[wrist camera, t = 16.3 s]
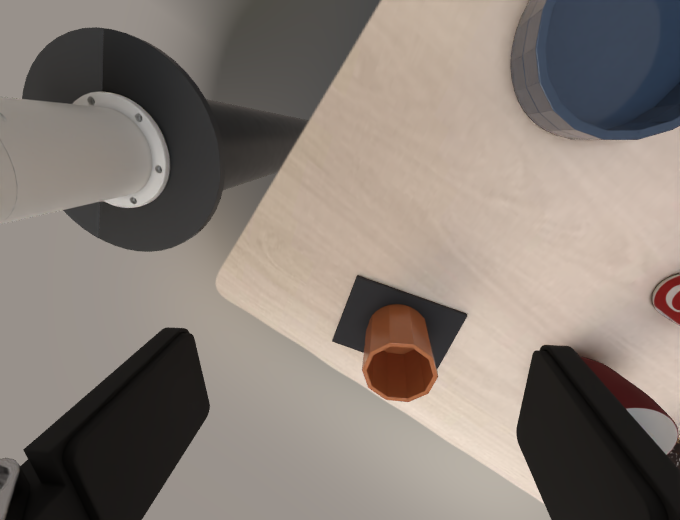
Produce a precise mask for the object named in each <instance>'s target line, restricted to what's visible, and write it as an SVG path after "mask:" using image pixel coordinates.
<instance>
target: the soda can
mask: <svg viewBox="0 0 680 520" xmlns="http://www.w3.org/2000/svg"><path fill="white" fill-rule="evenodd" d="M652 301H653V305H654V307H655V309H656V310H657V311H658V312H659V313H660V314H662V315H663V316H665V317H666V318H668V319H669V320H671V321H673V322H674V323H676V324H677V325H679V326H680V274H677V275H674V276H671V277H669V278H667V279H665V280H663V281H662V282H661V283H660V284H659V285H658V286H657V287H656V288H655V290H654V292H653V295H652Z"/></svg>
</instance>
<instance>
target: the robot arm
mask: <svg viewBox="0 0 680 520" xmlns="http://www.w3.org/2000/svg"><path fill="white" fill-rule="evenodd" d="M169 174H170V155H169V150H168V146H167V143H166V140H165V138H164V135H163V133H162V131H161V130H160V128H159V126H158V124H157V123H156V122H155V120H154V119H153V118H152V116H151V115H150V114H149V113H148V112H147V111H146V110H145V109H144V108H143V107H141V106H140V105H139V104H137V103H136V102H134V101H133V100H131V99H129V98H127V97H125V96H122V95H119V94H115V93H109V92H101V91H100V92H91V93H88V94H85V95H83V96H81V97H80V98H78V99H77V100H76V101H74V103H73V104H67V103H57V102H47V101H37V100H28V99H17V98H8V97H0V224H4V223H9V222H13V221H17V220H22V219H26V218H31V217H35V216H39V215H44V214H48V213H52V212H57V211H61V210H65V209H70V208H74V207H78V206H83V205H87V204H91V203H96V202H100V201H104V202H107V203H109V204H111V205H114V206H118V207H123V208H133V207H139V206H142V205H146V204H148V203H150V202H152V201H154V200H155V199H156V198H157V197H158V196H159V195H161V193H162V192H163V190H164V189H165V187H166V185H167V182H168V179H169ZM209 408H210V404H209V399H208V395H207V391H206V387H205V382H204V378H203V374H202V370H201V365H200V361H199V357H198V353H197V348H196V344H195V340H194V337H193V335H192V334H190V333H189V331H188V330H187V329H184V328H164V329H162V330H161V331H160V332H159V333H158V334H156V336H154V337H153V338H152V339H151V340H150V341H148V342H147V343H146V344H145V345H144V346H143V347H141V348H140V349H139V350H138V351H137V352H136V353H135V354H133V355H132V356H131V357H130V358H129V359H128V360H127V361H125V362H124V363H123V364H122V365H121V366H120V367H118V368H117V369H116V370H115V371H114V372H113V373H111V374H110V375H109V376H108V377H107V378H106V379H105V380H103V381H102V382H101V383H100V384H99V385H98V386H96V387H95V388H94V389H93V390H92V391H91V392H90V393H88V394H87V395H86V396H85V397H84V398H83V399H81V400H80V401H79V402H78V403H77V404H76V405H75V406H74V407H72V408H71V409H70V410H69V411H68V412H66V413H65V414H64V415H63V416H62V417H61V418H60V419H58V420H57V421H56V422H55V423H54V424H53V425H52V426H50V427H49V428H48V429H47V430H46V431H45V432H44V433H42V434H41V435H40V436H39V437H38V438H36V440H34V441H33V442H32V443H31V444H29V445H28V446H27V447H26V448H25V449H24V452H25V454H26V456H27V457H28V460H27V461H26V462H25V463H24V464H22V465H21V466H19V464H18V463H17V462H16V460H13V459H9V458H2V459H0V520H142V518H143V517H144V515H145V514H146V512H147V511H148V509H149V507H150V506H151V504H152V503H153V501H154V500H155V498H156V496H157V495H158V493H159V492H160V490H161V489H162V487H163V485H164V484H165V482H166V480H167V479H168V477H169V476H170V474H171V473H172V471H173V470H174V468H175V466H176V465H177V463H178V462H179V460H180V459H181V457H182V455H183V454H184V452H185V451H186V449H187V447H188V446H189V444H190V443H191V441H192V440H193V438H194V436H195V435H196V433H197V432H198V430H199V429H200V427H201V426H202V424H203V422H204V421H205V419H206V417H207V415H208V413H209ZM516 431H517V440H518V443H519V446H520V448H521V451H522V453H523V455H524V457H525V460H526V462H527V464H528V467H529V469H530V471H531V474H532V476H533V478H534V481H535V483H536V485H537V487H538V490H539V492H540V494H541V497H542V499H543V501H544V504H545V506H546V508H547V510H548V512H549V515H550V517H551V519H552V520H680V470H679V468H678V467H677V466H676V465H675V464H674V463H673V462H672V461H671V459H670V458H669V457H668V456H667V455H666V454H665V453H664V451H663V450H662V449H661V448H660V447H659V446H658V445H657V444H656V442H655V441H654V440H653V439H652V438H651V437H650V436H649V434H648V433H647V432H646V431H645V430H644V429H643V428H642V427H641V425H640V424H639V423H638V422H637V421H636V420H635V419H634V417H633V416H632V415H631V414H630V413H629V412H628V411H627V410H626V408H625V407H624V406H623V405H622V404H621V403H620V402H619V400H618V399H617V398H616V397H615V396H614V395H613V394H612V393H611V391H610V390H609V389H608V388H607V387H606V386H605V385H604V383H603V382H602V381H601V380H600V379H599V378H598V377H597V376H596V374H595V373H594V372H593V371H592V370H591V369H590V368H589V366H588V365H587V364H586V363H585V362H584V361H583V360H582V359H581V357H580V356H579V355H578V354H577V353H576V352H575V351H574V349H572V348H571V347H569V346H554V345H544V346H542V347H541V348H540V351H534V353H533V355H532V360H531V364H530V369H529V374H528V378H527V383H526V388H525V392H524V397H523V401H522V406H521V411H520V415H519V420H518V424H517V430H516Z"/></svg>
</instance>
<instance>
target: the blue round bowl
mask: <svg viewBox="0 0 680 520" xmlns="http://www.w3.org/2000/svg"><path fill="white" fill-rule="evenodd" d="M511 76H512V83H513V87H514V91H515V94H516V96H517V99H518V101H519V103H520V105H521V107H522V108H523V110H524V111H525V113H526V114H527V115H528V116H529V118H530V119H531V120H533V121H534V122H535V123H536V124H537V125H538V126H540V127H541V128H543V129H544V130H546V131H548V132H550V133H553V134H555V135H558V136H562V137H565V138H569V139H587V140H638V139H642V138H645V137H649V136H652V135H656V134H659V133H663V132H666V131H670V130H673V129H675V128H677V127H678V126H680V0H530V1H529V2H528V4H527V6H526V8H525V10H524V12H523V14H522V17H521V19H520V22H519V24H518V27H517V30H516V33H515V37H514V41H513V46H512V53H511Z"/></svg>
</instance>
